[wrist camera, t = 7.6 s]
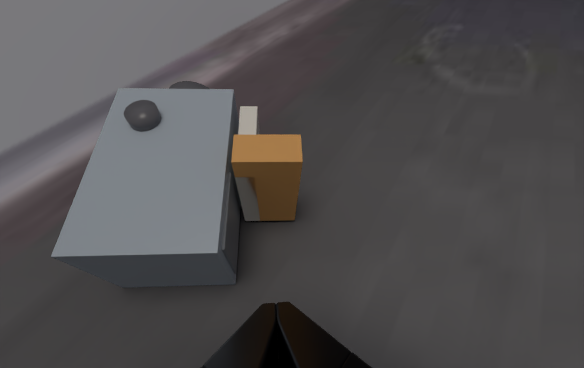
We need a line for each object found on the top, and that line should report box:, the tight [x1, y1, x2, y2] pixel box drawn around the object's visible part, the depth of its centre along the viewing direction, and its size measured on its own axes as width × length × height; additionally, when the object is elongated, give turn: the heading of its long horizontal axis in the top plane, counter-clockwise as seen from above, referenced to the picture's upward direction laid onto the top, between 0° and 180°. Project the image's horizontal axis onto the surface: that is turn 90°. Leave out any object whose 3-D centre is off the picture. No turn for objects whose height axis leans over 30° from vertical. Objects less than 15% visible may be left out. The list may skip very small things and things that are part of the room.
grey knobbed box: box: [51, 81, 241, 288], centre depth 21 cm, size 14×8×8 cm, turn 2°
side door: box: [231, 106, 303, 221], centre depth 21 cm, size 6×4×8 cm, turn 2°
